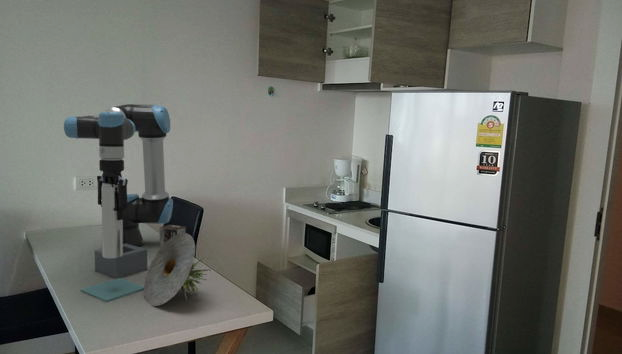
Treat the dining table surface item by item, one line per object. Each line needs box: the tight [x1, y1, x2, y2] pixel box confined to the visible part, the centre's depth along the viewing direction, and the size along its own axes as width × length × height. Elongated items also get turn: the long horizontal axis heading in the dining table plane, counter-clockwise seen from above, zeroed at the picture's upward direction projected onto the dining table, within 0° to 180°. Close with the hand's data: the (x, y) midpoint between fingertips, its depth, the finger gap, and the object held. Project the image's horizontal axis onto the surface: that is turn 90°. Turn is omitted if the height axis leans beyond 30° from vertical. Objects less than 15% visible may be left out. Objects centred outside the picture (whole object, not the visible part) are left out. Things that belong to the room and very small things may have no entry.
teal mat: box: [80, 277, 144, 303], centre depth 159 cm, size 15×15×1 cm
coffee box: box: [159, 224, 188, 250], centre depth 186 cm, size 9×6×16 cm
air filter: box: [101, 183, 123, 258], centre depth 156 cm, size 6×6×25 cm
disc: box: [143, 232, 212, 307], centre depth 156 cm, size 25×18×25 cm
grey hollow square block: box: [94, 244, 148, 279], centre depth 179 cm, size 14×14×8 cm
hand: (112, 227), depth 156 cm, fingers closed on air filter, 6 cm apart
